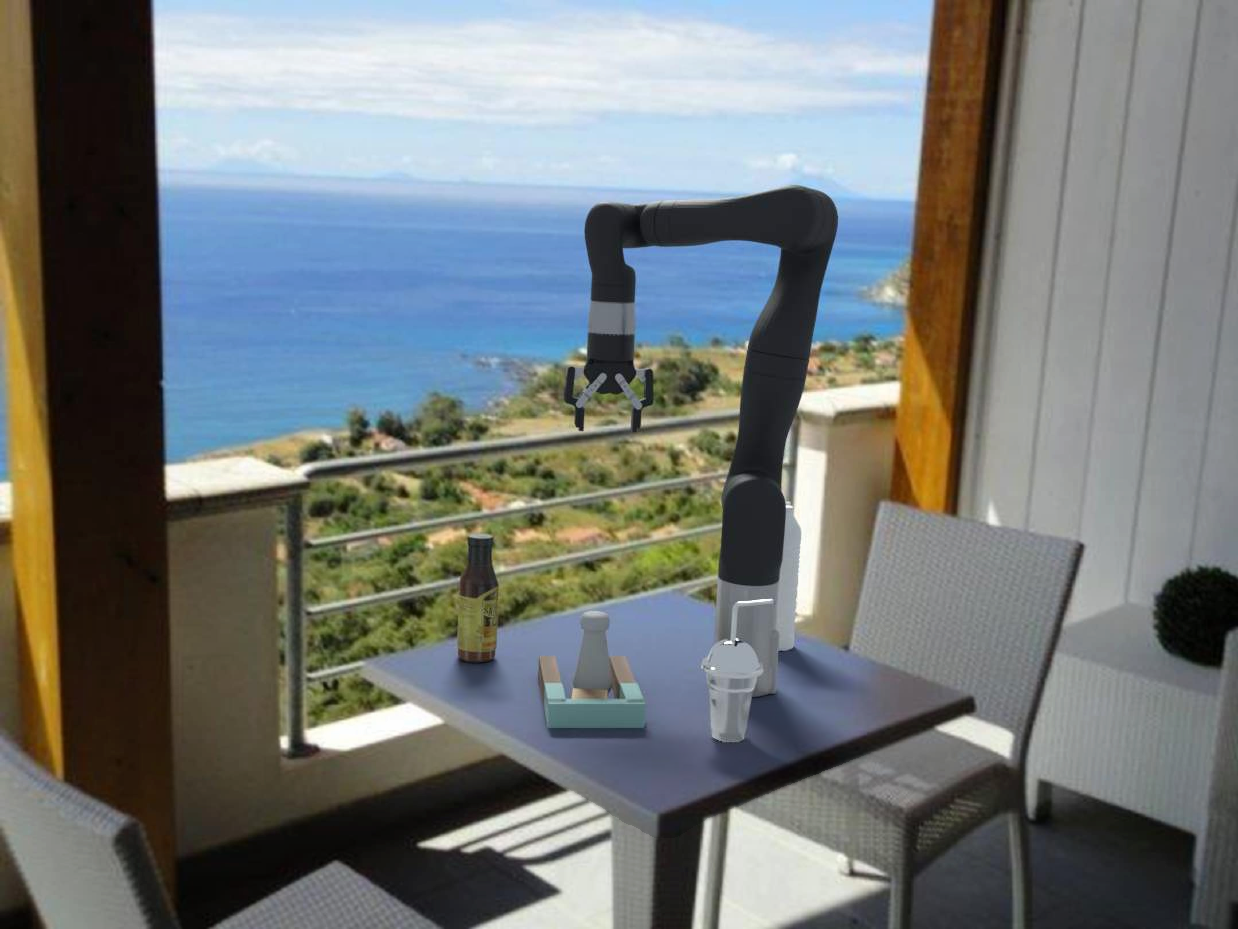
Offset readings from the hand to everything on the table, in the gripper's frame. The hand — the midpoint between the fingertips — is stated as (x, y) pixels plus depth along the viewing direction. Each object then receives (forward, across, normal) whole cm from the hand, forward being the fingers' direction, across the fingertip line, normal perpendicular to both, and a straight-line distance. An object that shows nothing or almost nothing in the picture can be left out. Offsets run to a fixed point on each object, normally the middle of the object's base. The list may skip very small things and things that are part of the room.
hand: (607, 431), depth 210 cm
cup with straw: (+36, -14, +40) cm, 56 cm away
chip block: (+36, +4, +31) cm, 48 cm away
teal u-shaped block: (+36, +4, +32) cm, 48 cm away
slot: (+36, +4, +21) cm, 42 cm away
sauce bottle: (+36, +20, +6) cm, 42 cm away
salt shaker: (+36, +3, +25) cm, 44 cm away
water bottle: (+36, -30, 0) cm, 47 cm away
